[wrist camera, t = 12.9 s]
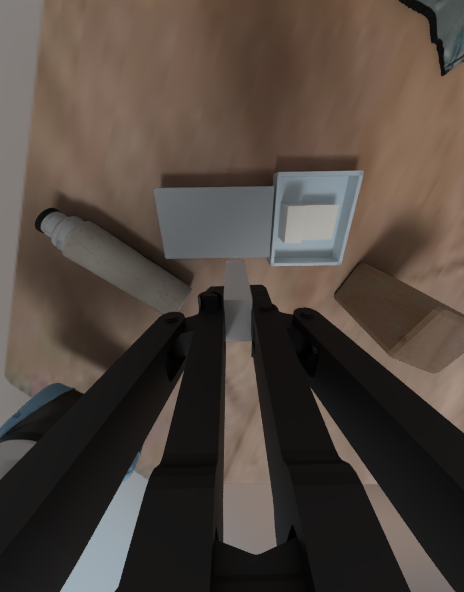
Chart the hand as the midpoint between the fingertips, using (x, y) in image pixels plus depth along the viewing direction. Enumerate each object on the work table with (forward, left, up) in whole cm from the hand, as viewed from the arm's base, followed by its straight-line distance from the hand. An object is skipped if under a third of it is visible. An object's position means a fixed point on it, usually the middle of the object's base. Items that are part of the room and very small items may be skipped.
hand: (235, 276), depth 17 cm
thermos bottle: (-11, -15, -23) cm, 30 cm away
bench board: (-3, +1, -27) cm, 27 cm away
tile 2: (+9, +1, -23) cm, 25 cm away
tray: (+15, +1, -27) cm, 30 cm away
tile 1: (+16, +1, -23) cm, 28 cm away
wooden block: (+30, -14, -27) cm, 43 cm away
